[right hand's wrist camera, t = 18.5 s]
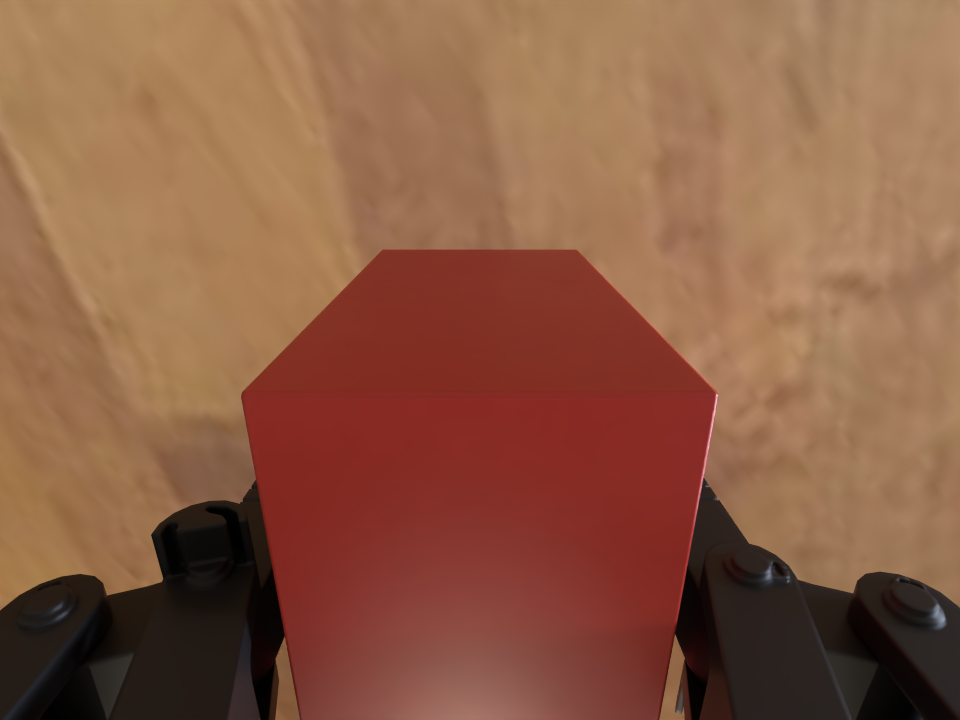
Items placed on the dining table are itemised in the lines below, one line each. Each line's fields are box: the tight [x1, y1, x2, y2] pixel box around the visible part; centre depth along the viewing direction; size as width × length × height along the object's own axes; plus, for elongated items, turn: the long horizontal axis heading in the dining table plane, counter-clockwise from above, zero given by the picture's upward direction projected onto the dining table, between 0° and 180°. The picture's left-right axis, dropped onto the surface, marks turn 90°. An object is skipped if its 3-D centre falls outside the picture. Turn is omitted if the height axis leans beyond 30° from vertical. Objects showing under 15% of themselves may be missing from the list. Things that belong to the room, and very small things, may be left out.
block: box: [241, 250, 718, 720], centre depth 11 cm, size 5×9×9 cm, turn 0°
